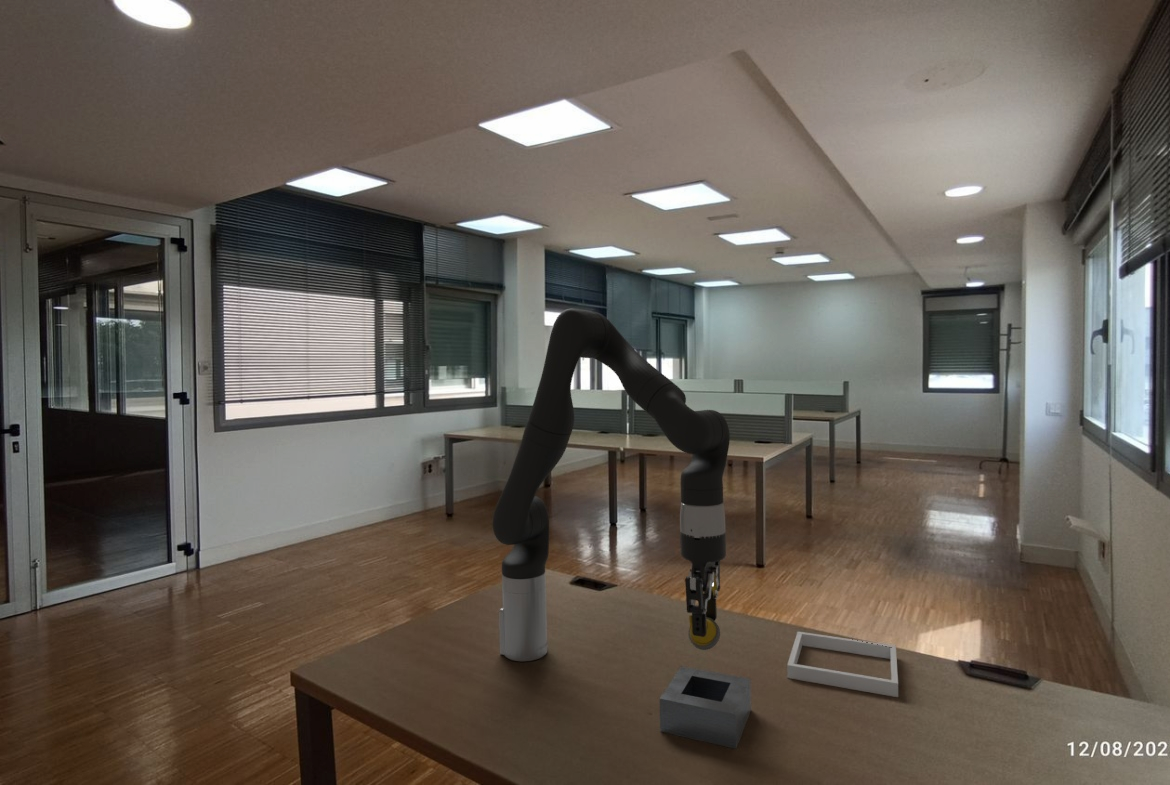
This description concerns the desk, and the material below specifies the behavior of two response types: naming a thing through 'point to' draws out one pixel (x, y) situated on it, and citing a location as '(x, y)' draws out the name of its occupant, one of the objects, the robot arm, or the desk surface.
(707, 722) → the bit holder
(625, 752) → the desk surface
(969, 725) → the desk surface
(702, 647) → the drill bit
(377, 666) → the desk surface
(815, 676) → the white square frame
